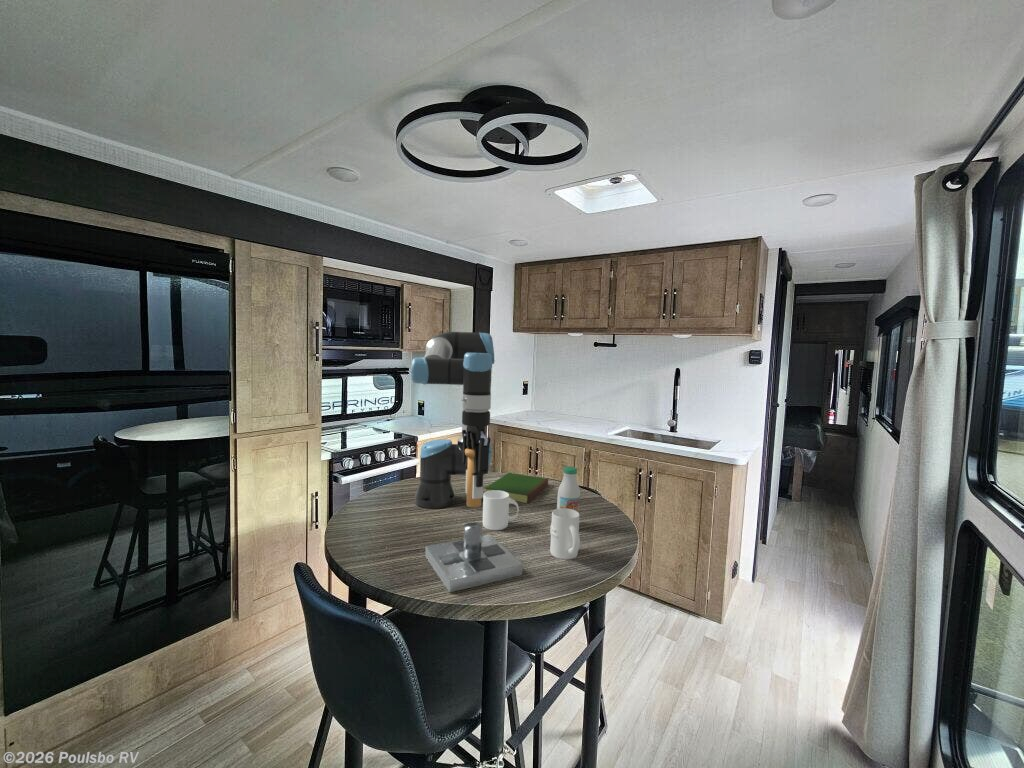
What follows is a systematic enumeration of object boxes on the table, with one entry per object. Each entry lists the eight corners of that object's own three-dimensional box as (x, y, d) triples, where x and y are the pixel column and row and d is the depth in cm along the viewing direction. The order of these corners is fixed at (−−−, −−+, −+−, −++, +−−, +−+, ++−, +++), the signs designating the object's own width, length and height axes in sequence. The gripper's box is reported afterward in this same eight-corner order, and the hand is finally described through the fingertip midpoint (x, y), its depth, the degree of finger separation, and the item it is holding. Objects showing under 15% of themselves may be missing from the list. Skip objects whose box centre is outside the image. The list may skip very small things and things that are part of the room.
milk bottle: (551, 525, 147) (554, 467, 146) (565, 519, 153) (567, 463, 151) (570, 532, 142) (573, 472, 140) (583, 525, 148) (586, 468, 146)
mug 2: (563, 568, 119) (565, 525, 118) (545, 548, 130) (546, 509, 129) (589, 563, 121) (591, 522, 120) (569, 545, 133) (571, 507, 132)
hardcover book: (528, 504, 168) (528, 495, 167) (484, 496, 175) (484, 487, 174) (548, 486, 191) (548, 478, 190) (509, 480, 198) (509, 472, 197)
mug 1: (519, 530, 142) (521, 498, 141) (483, 531, 141) (484, 498, 140) (516, 520, 151) (517, 490, 150) (481, 520, 149) (482, 490, 148)
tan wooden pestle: (460, 502, 120) (461, 448, 119) (478, 500, 123) (480, 447, 121) (468, 509, 115) (470, 453, 114) (487, 506, 118) (489, 451, 117)
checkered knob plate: (425, 556, 122) (426, 518, 121) (489, 543, 132) (491, 508, 131) (449, 592, 105) (450, 548, 104) (521, 574, 114) (523, 534, 113)
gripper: (451, 406, 122) (449, 487, 124) (476, 415, 108) (474, 507, 109) (475, 405, 126) (473, 484, 128) (503, 414, 111) (500, 503, 113)
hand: (473, 495), depth 119 cm, fingers closed on tan wooden pestle, 4 cm apart
